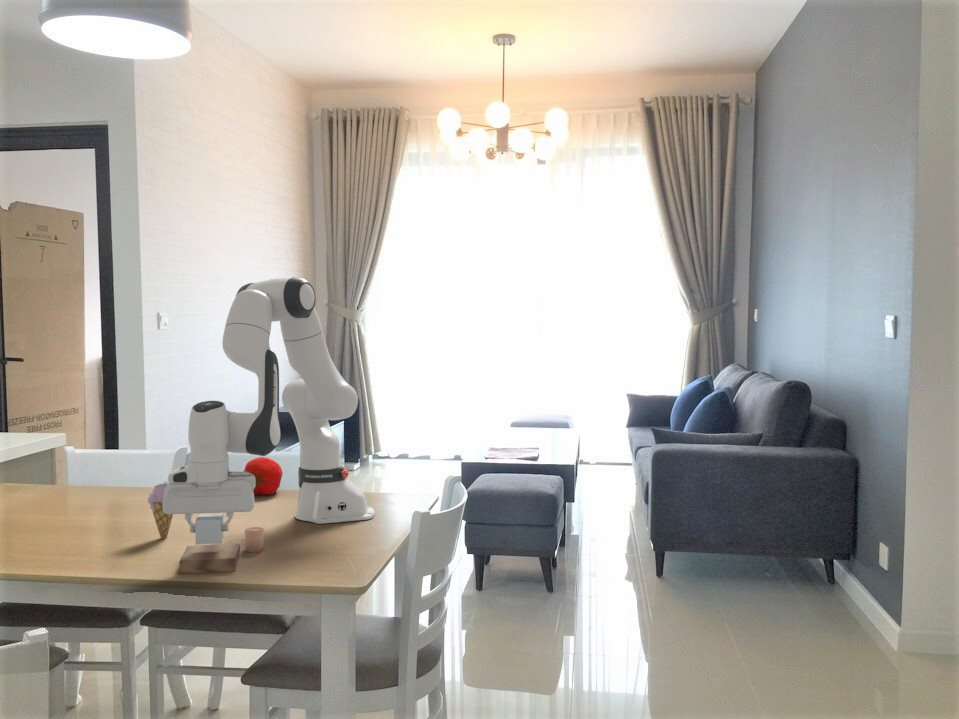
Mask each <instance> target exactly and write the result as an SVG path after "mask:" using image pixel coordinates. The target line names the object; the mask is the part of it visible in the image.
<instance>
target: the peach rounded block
mask: <svg viewBox="0 0 959 719" xmlns="http://www.w3.org/2000/svg"><path fill="white" fill-rule="evenodd" d="M264 550H265V528H264V527H259V526H253V527H247V528H245V529H244V552H247V553H260V552H262V551H264Z"/></svg>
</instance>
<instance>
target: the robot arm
mask: <svg viewBox="0 0 959 719" xmlns="http://www.w3.org/2000/svg"><path fill="white" fill-rule="evenodd" d="M315 306H316V292H315V289H314V286H312V284H311V283H310V282H309V281H308V280H307V279H305V278H301V277H297V276H296V277H294V276H293V277H291V278H288V277H287V278H283V277H282V278H281V277H280V278H279V277H277V278H271V279H268V280H267V279H266V280H263V281H258V282H249V283H247V284H244V285H242V286H241V287H239V289H238V291H237V292H236V295H235V297H234V299H233V302H232V304H231V307H230V308H229V311H228V314H227V317H226V322H225V325H224V329H223V330H224V331H223V335H222V342H221V344H222V349H223V352H224V354H225V356H226V357H227V358H228V359H229V361H231V362H232V363H234V364H235V365H237V366H238V367H241V368H242V369H244V370H247V371H249V372H251V373H253V374H255V375H256V377H257V380H258V391H257V393H258V395H257V396H258V398H257V400H258V402H257V403H258V404H257V409H256V411H255V412H235V411H230V410H227V408H226V407H227V406H226V404H225V403H224V402H222V401H219V400H205V401H201V402H197V403H196V404H194V405H193V406H192V407H191V410H190V413H189V419H188V445H189V449H190V450H189V451H190V452H189V457H188V464H187V465H184V466H181V467H178V468H175V469H173V470H172V471H171V470H170V472H169V474H168V475H167V482H169V484H168V485H167V487H166V488H165V491H164V496H163V511H164V513H165V514H173V515H184V519H185V521H186V522H187V523H188V525H189V529H190V530H189V532H190V533H193V534H194V533H196V528H195V521H194V520H193V519H192V518H193V514H224V513H226V518H227V520H226V521H225V522H224V521H223V523H222V531H223V532H229V529H230V522H231V521H232V519H233V517H234V515H235V514H234V513H247V512H248V513H249V512H252V510H253V509H254V508H255V504H256V503H255V494H254V492H253V489H254V488H255V486H256V479H255V476H254V475H253V474H251V473H249V472H248V471H244V470H243V471H230V463H229V461H230V460H229V459H230V457H229V453H231V454H232V453H234V454H248V455H252V456H253V455H255V456H260V457H266V456H267V455H269V454H271V453H272V452H274V450H276V449H277V447H278V446H279V445H280V442H281V437H282V433H281V432H282V430H281V429H282V428H281V422H280V367H279V360H278V357H277V354H276V353H275V352H274V351H272V350H271V347H270V336H271V330H272V324H273V323H272V322H279V325H280V331H281V336H282V340H283V343H284V348H285V352H286V355H287V358H288V363H289V364H290V367H291V368H292V369H293V370H294V371H295V372H296V373H297V374H298V375H299V376H300V378H299V379H295V380H292V381H289V382H288V383H286V385H285V386H284V388H283V391H282V394H281V401H282V405H283V407H284V408H285V409H286V411H288V413H289V415H290V416H291V418H292V420H293V423H294V425H295V426H294V427H295V428H296V432H297V436H298V440H299V441H298V443H299V467H298V471H297V472H298V474H297V477H298V478H297V480H298V481H297V482H298V487H299V492H298V499H297V500H298V501H297V505H296V510H295V513H294V517H295V519H297V520H300V521H304V522H311V523H314V524H317V525H321V524H331V523H333V524H335V523H342V522H343V523H344V522H354V521H355V522H356V521H363V520H370V519H373V518H374V517H375V508H373V507H372V506H370V505H368V503H367V497H366V494H365V493H364V490H362V489H361V488H360V487H358V486H357V485H355V483H353V482H352V481H350V480H349V479H347V478H348V477H349V473H350V472H349V470H347V468H346V467H345V466H342V465H341V464H340V460H341V459H340V456H341V455H340V439H339V437H338V435H337V434H336V432H334V431H333V429H332V427H331V425H330V422H329V421H340V420H345V419H349V418H351V417H352V416H353V415H354V414H355V412H356V410H357V408H358V404H359V396H358V393H357V391H356V390H355V388H354V387H353V386H352V385H350V384H349V383H348V382H347V381H346V380H345V379H344V377H343V376H342V375H341V374H340V372H339V369H337V367H336V365H335V363H334V361H333V359H332V357H331V355H330V352H329V349H328V345H327V342H326V339H325V333H324V330H323V326H322V323H321V319H320V317H319V313H318V311H317V309H316V307H315ZM249 475H251V476H249Z"/></svg>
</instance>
